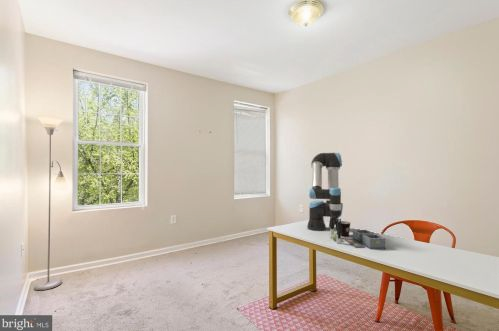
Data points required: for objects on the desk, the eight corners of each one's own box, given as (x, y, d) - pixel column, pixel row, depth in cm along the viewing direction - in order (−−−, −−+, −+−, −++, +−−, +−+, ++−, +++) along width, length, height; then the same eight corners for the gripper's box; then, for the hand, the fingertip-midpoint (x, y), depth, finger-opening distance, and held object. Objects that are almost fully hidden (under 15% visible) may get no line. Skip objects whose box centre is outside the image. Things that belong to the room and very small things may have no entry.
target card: (345, 240, 180) (345, 239, 180) (353, 240, 180) (353, 238, 180) (355, 247, 164) (355, 246, 164) (364, 247, 164) (364, 246, 164)
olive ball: (330, 239, 182) (330, 232, 182) (337, 239, 182) (337, 232, 182) (333, 241, 177) (333, 234, 177) (340, 241, 177) (340, 234, 177)
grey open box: (362, 244, 172) (362, 234, 171) (376, 243, 172) (376, 234, 172) (370, 249, 161) (370, 239, 161) (385, 248, 162) (385, 238, 162)
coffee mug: (348, 234, 196) (348, 221, 196) (351, 237, 187) (351, 223, 187) (333, 233, 197) (333, 221, 197) (335, 237, 189) (335, 223, 188)
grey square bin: (352, 238, 183) (352, 230, 183) (366, 238, 184) (366, 229, 184) (359, 243, 173) (359, 233, 173) (373, 243, 174) (373, 233, 174)
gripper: (324, 206, 191) (324, 235, 191) (336, 212, 168) (336, 245, 168) (334, 206, 192) (334, 235, 192) (347, 212, 168) (347, 245, 168)
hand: (335, 240), depth 180 cm, fingers open, 11 cm apart
